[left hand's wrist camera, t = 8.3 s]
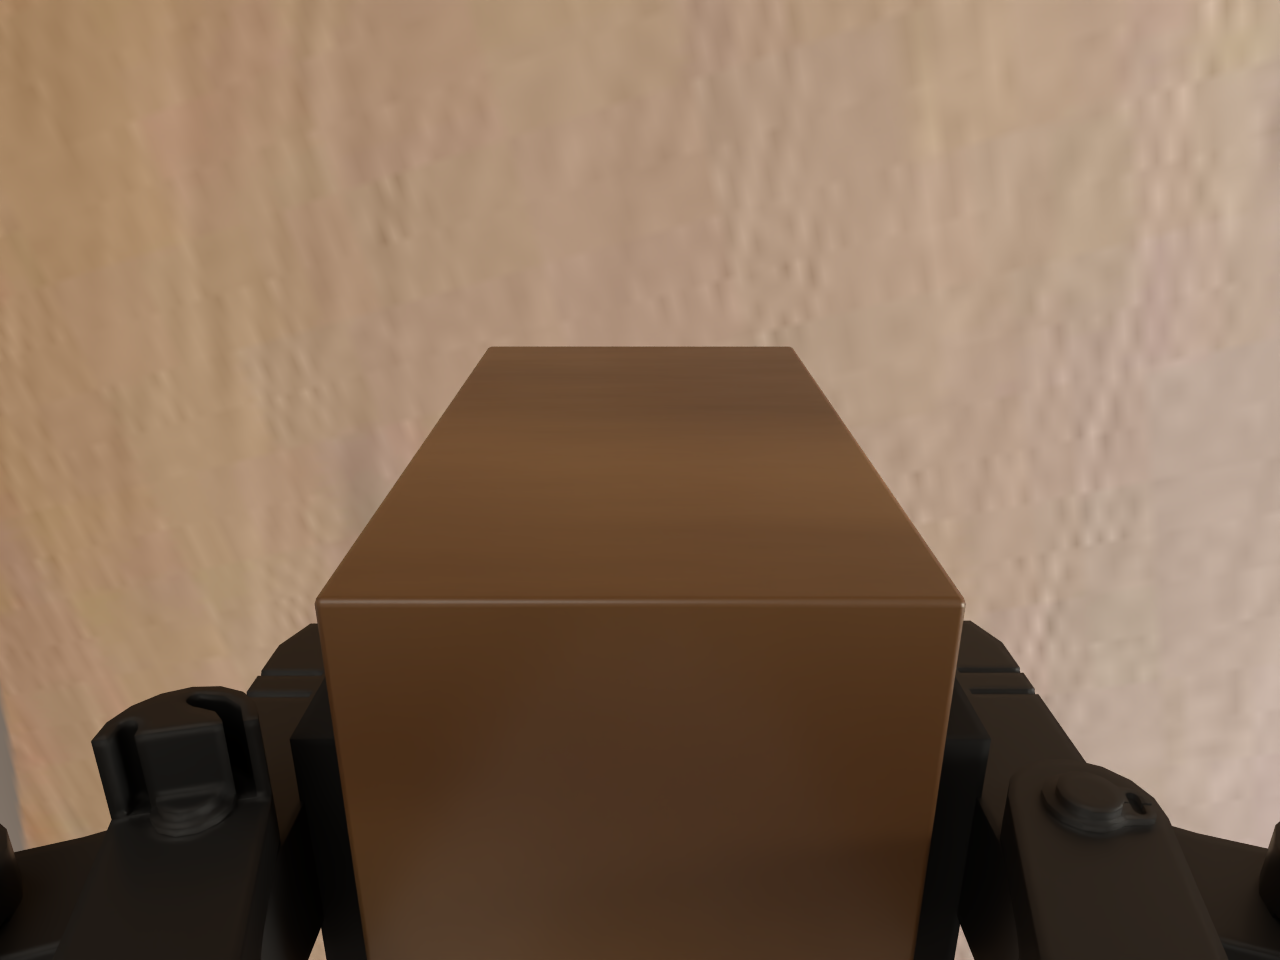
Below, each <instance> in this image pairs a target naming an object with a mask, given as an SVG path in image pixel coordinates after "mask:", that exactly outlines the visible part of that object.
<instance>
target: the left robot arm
mask: <svg viewBox="0 0 1280 960" xmlns="http://www.w3.org/2000/svg"><path fill="white" fill-rule="evenodd" d="M261 672H262V673H261V676H258V677H257V678H256V679H255V681H254V682H253V684H252V685H251V687H250V688H249V689H248V691H247V695H246V694H245V693H244V692H242V691H238V690H234V689H230V688H226V687H222V686H213V687H190V688H185V689H181V690H176V691H172V692H167V693H163V694H160V695H157V696H155V697H152V698H150V699H147V700H145V701H143V702H140V703H138V704H135V705H133V706H131V707H129V708H128V709H126V710H125V711H123V712H122V713H120V714H119V715H117V716H116V717H114V718H113V719H111V720H110V721H108V722H107V723H106V724H105V725H104V726H103V728H102V729H101V730H100V731H99V732H98V734H97V735H96V736H95V737H94V738H93V740H92V741H91V743H92V747H93V751H94V754H95V758H96V762H97V766H98V770H99V773H100V777H101V781H102V785H103V789H104V792H105V796H106V800H107V804H108V808H109V811H110V815H111V819H112V820H111V822H110V825H109V827H108V829H107V831H103V832H100V833H96V834H93V835H89V836H86V837H82V838H77V839H73V840H68V841H64V842H59V843H55V844H50V845H46V846H41V847H36V848H32V849H27V850H23V851H18V852H14V851H13V848H12V845H11V842H10V839H9V835H8V832H7V829H6V828H5V827H3V826H2V825H1V824H0V960H308V959H309V956H310V954H311V951H312V949H313V946H314V944H315V941H316V939H317V936H318V934H319V931H320V929H322V935H323V941H324V947H325V953H326V959H327V960H367V957H366V950H365V944H364V937H363V930H362V923H361V916H360V909H359V903H358V896H357V889H356V882H355V875H354V869H353V862H352V855H351V848H350V841H349V834H348V828H347V821H346V814H345V807H344V800H343V793H342V787H341V780H340V773H339V766H338V759H337V752H336V746H335V739H334V732H333V725H332V718H331V712H330V705H329V698H328V691H327V684H326V677H325V671H324V664H323V657H322V650H321V643H320V636H319V630H318V624H309V625H308V626H307V627H305V628H304V629H302V630H301V631H299V632H298V633H296V634H295V635H294V636H292V637H291V638H289V639H288V640H286V641H285V642H283V643H282V644H280V645H279V646H278V648H277V649H276V651H275V652H274V654H273V655H272V656H271V658H270V659H269V661H268V662H267V664H266V665H265V666H264V668H263V669H262V671H261ZM960 925H961V927H962V930H963V932H964V935H965V937H966V940H967V942H968V945H969V947H970V950H971V952H972V955H973V957H974V960H1280V822H1279V823H1278V824H1276V825H1275V829H1274V832H1273V835H1272V838H1271V841H1270V844H1269V847H1268V849H1267V848H1262V847H1258V846H1253V845H1248V844H1244V843H1239V842H1235V841H1230V840H1226V839H1221V838H1216V837H1212V836H1207V835H1203V834H1198V833H1195V832H1191V831H1188V830H1184V829H1181V828H1177V827H1174V826H1172V825H1171V823H1170V821H1169V818H1168V817H1167V816H1166V814H1165V813H1164V811H1163V810H1162V809H1161V807H1160V806H1159V804H1158V803H1157V802H1156V800H1155V799H1154V798H1153V797H1152V796H1151V795H1149V794H1148V793H1147V792H1145V791H1144V790H1143V789H1141V788H1140V787H1139V786H1138V785H1136V784H1135V783H1134V782H1132V781H1131V780H1129V779H1127V778H1125V777H1123V776H1121V775H1118V774H1116V773H1114V772H1112V771H1110V770H1108V769H1106V768H1103V767H1101V766H1097V765H1093V764H1089V763H1086V762H1085V760H1084V759H1083V757H1082V756H1081V754H1080V753H1079V752H1078V750H1077V749H1076V747H1075V746H1074V744H1073V743H1072V742H1071V740H1070V739H1069V737H1068V736H1067V734H1066V733H1065V732H1064V730H1063V729H1062V727H1061V726H1060V724H1059V723H1058V722H1057V720H1056V719H1055V717H1054V716H1053V714H1052V713H1051V712H1050V710H1049V709H1048V707H1047V706H1046V704H1045V703H1044V702H1043V700H1042V699H1041V697H1040V696H1039V694H1035V689H1034V687H1033V686H1032V684H1031V683H1030V682H1029V680H1028V679H1027V677H1026V676H1025V674H1024V673H1020V667H1019V666H1018V665H1017V663H1016V662H1015V660H1014V659H1013V657H1012V656H1011V655H1010V653H1009V652H1008V650H1007V649H1006V647H1005V646H1004V645H1003V643H1002V642H1001V641H999V640H998V639H996V638H995V637H993V636H992V635H990V634H989V633H988V632H986V631H985V630H983V629H982V628H980V627H979V626H977V625H976V624H974V623H973V622H971V621H963V626H962V632H961V639H960V646H959V653H958V660H957V667H956V673H955V680H954V687H953V694H952V701H951V707H950V714H949V721H948V728H947V735H946V741H945V748H944V755H943V762H942V769H941V776H940V782H939V789H938V796H937V803H936V810H935V816H934V823H933V830H932V837H931V844H930V850H929V857H928V864H927V871H926V878H925V885H924V891H923V898H922V905H921V912H920V919H919V925H918V932H917V939H916V946H915V953H914V959H913V960H954V957H955V951H956V945H957V939H958V933H959V927H960Z"/></svg>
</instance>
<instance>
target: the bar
mask: <svg viewBox="0 0 1280 960" xmlns="http://www.w3.org/2000/svg"><path fill="white" fill-rule="evenodd" d="M965 605H966V604H965V600H964V598H963V596H962V595H961V593H960V592H959V591H958V589H957V588H956V586H955V585H954V583H953V582H952V580H951V579H950V577H949V576H948V574H947V573H946V572H945V570H944V569H943V567H942V566H941V564H940V563H939V561H938V560H937V558H936V557H935V556H934V554H933V553H932V551H931V550H930V548H929V547H928V545H927V544H926V542H925V541H924V539H923V538H922V537H921V535H920V534H919V532H918V531H917V529H916V528H915V526H914V525H913V523H912V522H911V520H910V519H909V518H908V516H907V515H906V513H905V512H904V510H903V509H902V507H901V506H900V504H899V503H898V502H897V500H896V499H895V497H894V496H893V494H892V493H891V491H890V490H889V488H888V487H887V485H886V484H885V483H884V481H883V480H882V478H881V477H880V475H879V474H878V472H877V471H876V469H875V468H874V466H873V465H872V464H871V462H870V461H869V459H868V458H867V456H866V455H865V453H864V452H863V450H862V449H861V447H860V446H859V445H858V443H857V442H856V440H855V439H854V437H853V436H852V434H851V433H850V431H849V430H848V429H847V427H846V426H845V424H844V423H843V421H842V420H841V418H840V417H839V415H838V414H837V412H836V411H835V410H834V408H833V407H832V405H831V404H830V402H829V401H828V399H827V398H826V396H825V395H824V393H823V392H822V391H821V389H820V388H819V386H818V385H817V383H816V382H815V380H814V379H813V377H812V376H811V375H810V373H809V372H808V370H807V369H806V367H805V366H804V364H803V363H802V361H801V360H800V358H799V357H798V356H797V354H796V353H795V351H794V350H793V348H791V347H490V348H488V350H487V351H486V353H485V354H484V356H483V357H482V358H481V360H480V361H479V363H478V364H477V366H476V367H475V369H474V370H473V372H472V373H471V374H470V376H469V377H468V379H467V380H466V382H465V383H464V385H463V386H462V388H461V389H460V390H459V392H458V393H457V395H456V396H455V398H454V399H453V401H452V402H451V403H450V405H449V406H448V408H447V409H446V411H445V412H444V414H443V415H442V417H441V418H440V419H439V421H438V422H437V424H436V425H435V427H434V428H433V430H432V431H431V433H430V434H429V435H428V437H427V438H426V440H425V441H424V443H423V444H422V446H421V447H420V449H419V450H418V451H417V453H416V454H415V456H414V457H413V459H412V460H411V462H410V463H409V464H408V466H407V467H406V469H405V470H404V472H403V473H402V475H401V476H400V478H399V479H398V480H397V482H396V483H395V485H394V486H393V488H392V489H391V491H390V492H389V494H388V495H387V496H386V498H385V499H384V501H383V502H382V504H381V505H380V507H379V508H378V509H377V511H376V512H375V514H374V515H373V517H372V518H371V520H370V521H369V523H368V524H367V525H366V527H365V528H364V530H363V531H362V533H361V534H360V536H359V537H358V539H357V540H356V541H355V543H354V544H353V546H352V547H351V549H350V550H349V552H348V553H347V555H346V556H345V557H344V559H343V560H342V562H341V563H340V565H339V566H338V568H337V569H336V570H335V572H334V573H333V575H332V576H331V578H330V579H329V581H328V582H327V584H326V585H325V586H324V588H323V589H322V591H321V592H320V594H319V595H318V597H317V598H316V601H315V609H316V616H317V623H318V630H319V636H320V643H321V650H322V657H323V664H324V671H325V677H326V684H327V691H328V698H329V705H330V712H331V718H332V725H333V732H334V739H335V746H336V752H337V759H338V766H339V773H340V780H341V787H342V793H343V800H344V807H345V814H346V821H347V828H348V834H349V841H350V848H351V855H352V862H353V869H354V875H355V882H356V889H357V896H358V903H359V909H360V916H361V923H362V930H363V937H364V944H365V950H366V957H367V960H913V959H914V953H915V946H916V939H917V932H918V925H919V919H920V912H921V905H922V898H923V891H924V885H925V878H926V871H927V864H928V857H929V850H930V844H931V837H932V830H933V823H934V816H935V810H936V803H937V796H938V789H939V782H940V776H941V769H942V762H943V755H944V748H945V741H946V735H947V728H948V721H949V714H950V707H951V701H952V694H953V687H954V680H955V673H956V667H957V660H958V653H959V646H960V639H961V632H962V626H963V619H964V612H965Z"/></svg>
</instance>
